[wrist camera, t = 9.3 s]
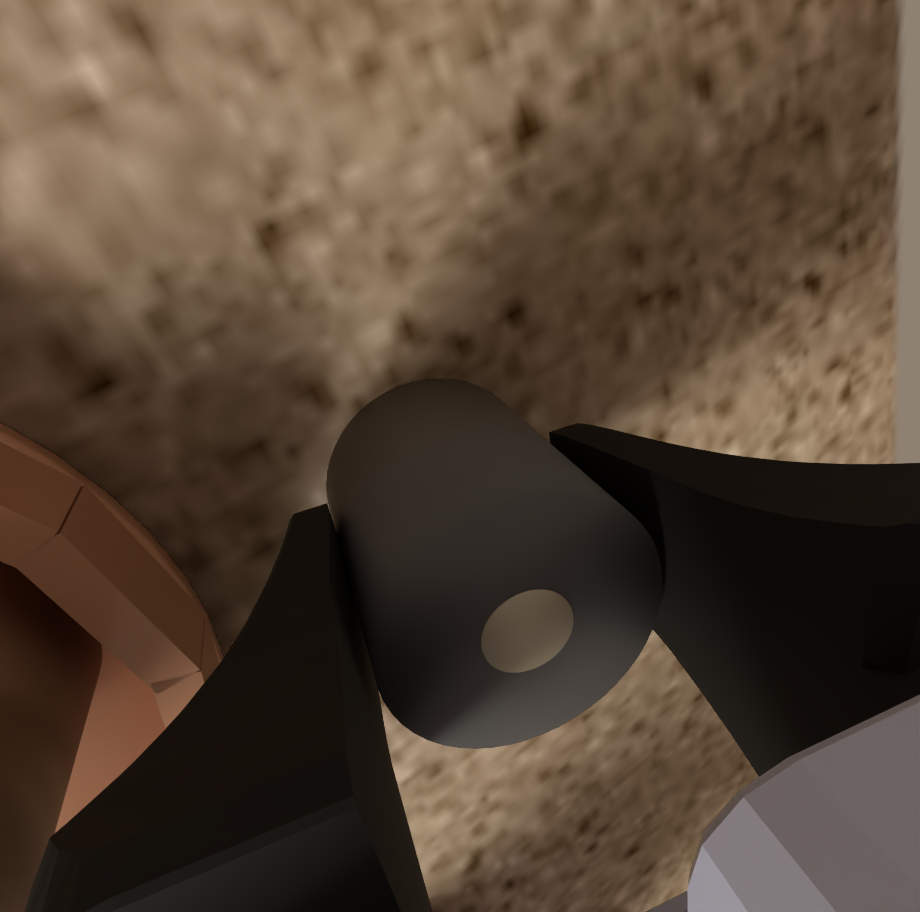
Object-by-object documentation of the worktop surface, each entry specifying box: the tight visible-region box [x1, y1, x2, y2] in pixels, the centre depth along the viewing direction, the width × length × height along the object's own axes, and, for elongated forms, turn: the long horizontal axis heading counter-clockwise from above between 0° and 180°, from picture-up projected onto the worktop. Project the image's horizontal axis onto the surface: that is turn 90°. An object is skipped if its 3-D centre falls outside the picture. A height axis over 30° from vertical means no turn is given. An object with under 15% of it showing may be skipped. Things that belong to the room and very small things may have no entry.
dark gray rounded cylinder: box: [326, 379, 663, 749], centre depth 11 cm, size 4×4×5 cm
